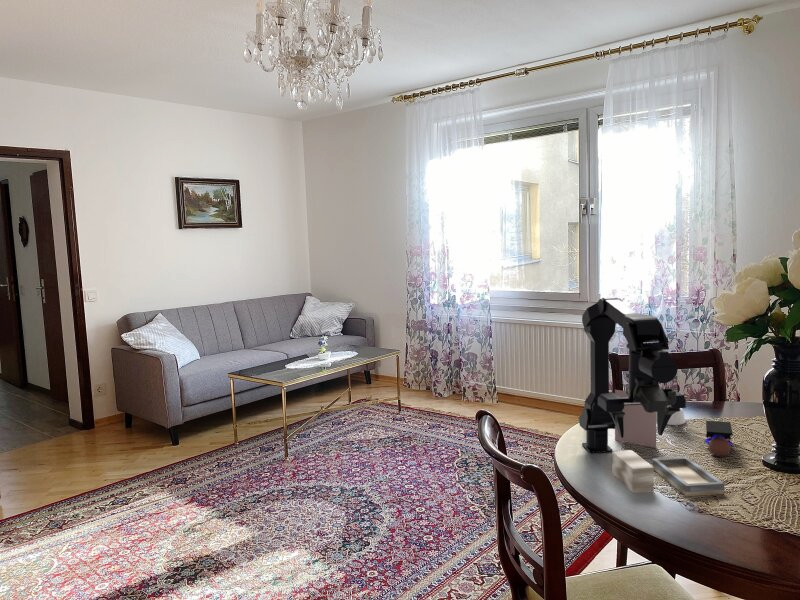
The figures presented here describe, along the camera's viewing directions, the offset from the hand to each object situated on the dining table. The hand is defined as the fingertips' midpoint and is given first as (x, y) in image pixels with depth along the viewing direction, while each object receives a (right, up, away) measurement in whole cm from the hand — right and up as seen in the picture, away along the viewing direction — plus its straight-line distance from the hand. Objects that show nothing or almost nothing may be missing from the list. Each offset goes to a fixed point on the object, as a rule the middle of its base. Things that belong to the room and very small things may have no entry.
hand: (640, 436), depth 137 cm
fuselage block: (0, -13, +6) cm, 14 cm away
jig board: (+13, -12, +6) cm, 19 cm away
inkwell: (+28, -7, +44) cm, 53 cm away
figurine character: (+31, -9, +24) cm, 41 cm away
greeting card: (+11, -9, +31) cm, 34 cm away
